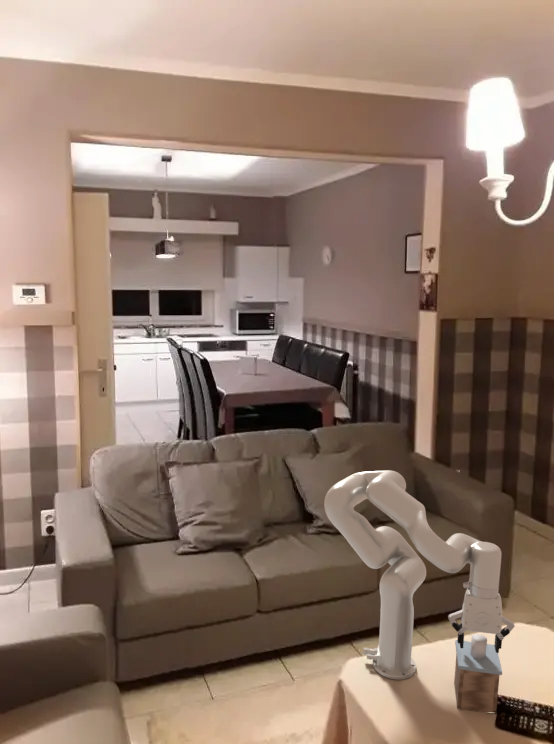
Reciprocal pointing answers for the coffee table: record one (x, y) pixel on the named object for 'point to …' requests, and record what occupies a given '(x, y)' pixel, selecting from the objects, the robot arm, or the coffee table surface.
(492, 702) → the walnut box
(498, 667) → the lid
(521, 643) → the coffee table surface
